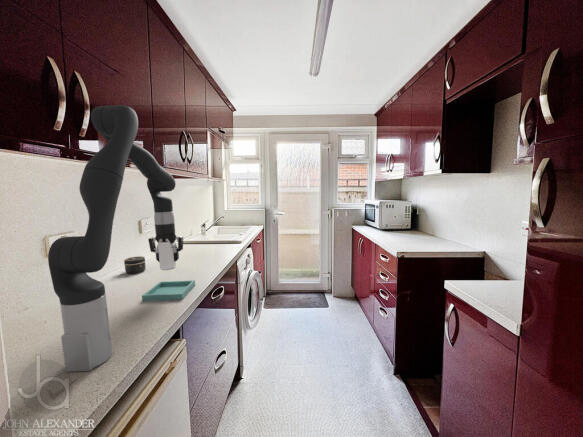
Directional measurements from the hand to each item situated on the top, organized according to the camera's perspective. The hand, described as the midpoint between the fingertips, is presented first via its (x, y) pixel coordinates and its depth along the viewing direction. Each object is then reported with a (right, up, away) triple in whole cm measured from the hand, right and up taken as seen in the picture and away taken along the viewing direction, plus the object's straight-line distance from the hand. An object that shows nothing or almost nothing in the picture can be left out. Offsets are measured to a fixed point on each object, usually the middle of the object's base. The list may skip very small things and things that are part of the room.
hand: (167, 260), depth 113 cm
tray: (0, -14, +2) cm, 14 cm away
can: (0, -3, 0) cm, 3 cm away
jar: (-34, -12, +34) cm, 49 cm away
